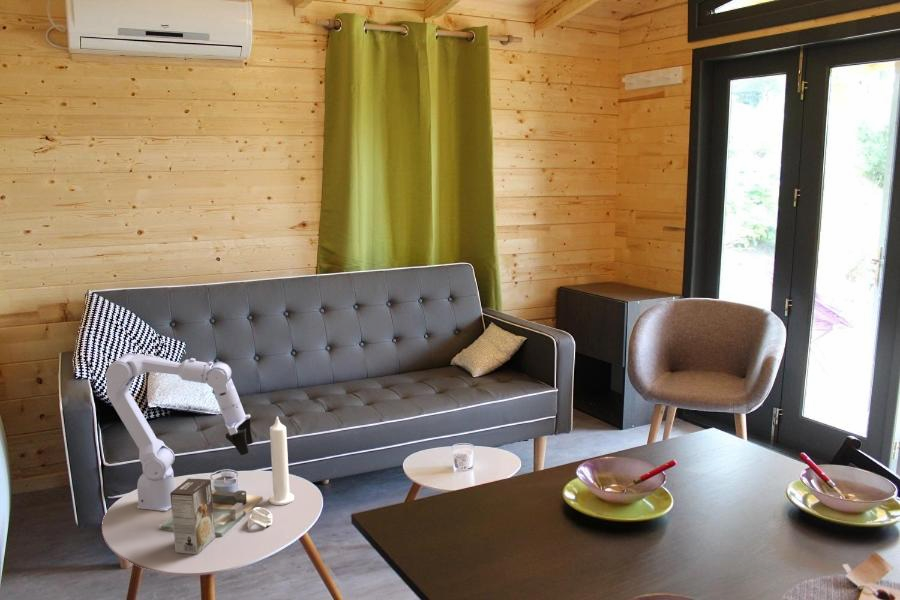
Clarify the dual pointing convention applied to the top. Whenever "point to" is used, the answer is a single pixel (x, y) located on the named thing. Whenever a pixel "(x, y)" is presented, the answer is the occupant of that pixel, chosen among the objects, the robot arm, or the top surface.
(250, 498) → the door and jamb
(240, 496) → the bar
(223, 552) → the top surface
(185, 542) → the coffee box
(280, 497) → the candle
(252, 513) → the white curved piece
